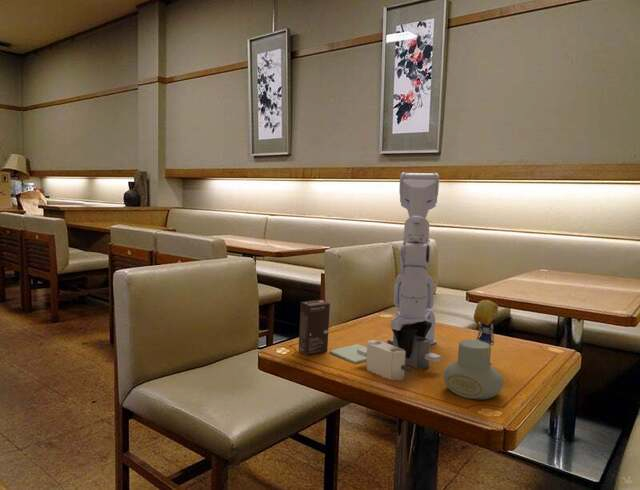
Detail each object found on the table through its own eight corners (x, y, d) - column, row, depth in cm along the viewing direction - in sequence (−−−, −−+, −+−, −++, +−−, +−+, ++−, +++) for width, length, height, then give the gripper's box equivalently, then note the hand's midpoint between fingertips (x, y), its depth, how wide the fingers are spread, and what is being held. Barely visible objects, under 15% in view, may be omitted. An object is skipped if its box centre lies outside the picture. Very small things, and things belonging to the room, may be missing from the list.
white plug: (415, 382, 98) (416, 354, 97) (403, 386, 96) (404, 357, 95) (365, 362, 109) (366, 336, 108) (354, 365, 107) (355, 339, 106)
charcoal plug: (382, 355, 114) (383, 330, 113) (393, 352, 116) (394, 328, 115) (431, 374, 103) (433, 347, 102) (442, 370, 105) (443, 344, 104)
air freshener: (436, 392, 93) (438, 342, 92) (454, 380, 100) (456, 333, 98) (492, 409, 86) (495, 356, 85) (507, 395, 93) (511, 345, 92)
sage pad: (357, 345, 120) (357, 343, 120) (383, 356, 113) (383, 353, 113) (329, 352, 115) (329, 350, 115) (355, 363, 108) (355, 361, 108)
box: (308, 356, 112) (309, 305, 111) (298, 350, 116) (299, 301, 114) (329, 352, 115) (330, 302, 114) (319, 346, 119) (320, 299, 118)
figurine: (498, 365, 109) (502, 300, 107) (483, 370, 106) (487, 303, 104) (481, 359, 113) (485, 296, 111) (466, 363, 110) (470, 299, 108)
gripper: (414, 288, 116) (412, 343, 117) (380, 297, 105) (377, 357, 107) (441, 293, 111) (438, 350, 113) (407, 303, 100) (405, 366, 102)
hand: (410, 354), depth 109 cm, fingers closed on charcoal plug, 4 cm apart
